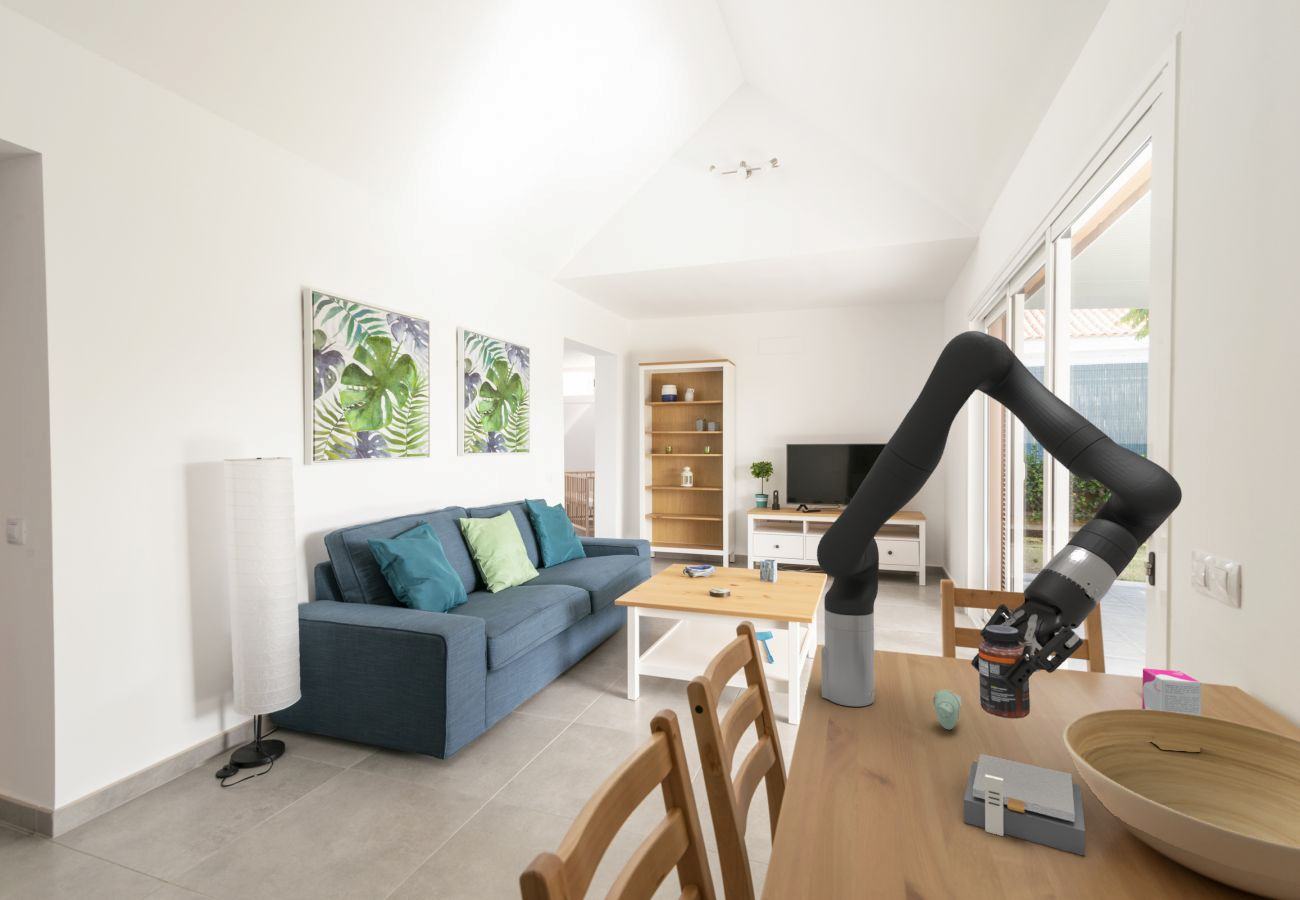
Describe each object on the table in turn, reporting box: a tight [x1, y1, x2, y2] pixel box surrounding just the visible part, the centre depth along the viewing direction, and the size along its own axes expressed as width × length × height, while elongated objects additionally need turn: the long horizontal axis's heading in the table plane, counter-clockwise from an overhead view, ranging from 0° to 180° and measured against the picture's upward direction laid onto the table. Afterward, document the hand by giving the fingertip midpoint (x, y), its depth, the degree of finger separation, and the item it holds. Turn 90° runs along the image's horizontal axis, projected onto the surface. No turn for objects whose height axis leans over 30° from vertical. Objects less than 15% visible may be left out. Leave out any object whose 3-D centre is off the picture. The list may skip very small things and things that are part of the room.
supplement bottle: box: [978, 625, 1031, 719], centre depth 86 cm, size 6×6×11 cm
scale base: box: [963, 760, 1086, 857], centre depth 84 cm, size 13×13×7 cm
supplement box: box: [1141, 667, 1202, 717], centre depth 104 cm, size 6×6×12 cm
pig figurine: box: [933, 688, 962, 730], centre depth 110 cm, size 8×4×7 cm, turn 139°
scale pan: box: [973, 753, 1075, 822], centre depth 83 cm, size 11×13×1 cm
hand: (992, 676), depth 86 cm, fingers closed on supplement bottle, 6 cm apart
